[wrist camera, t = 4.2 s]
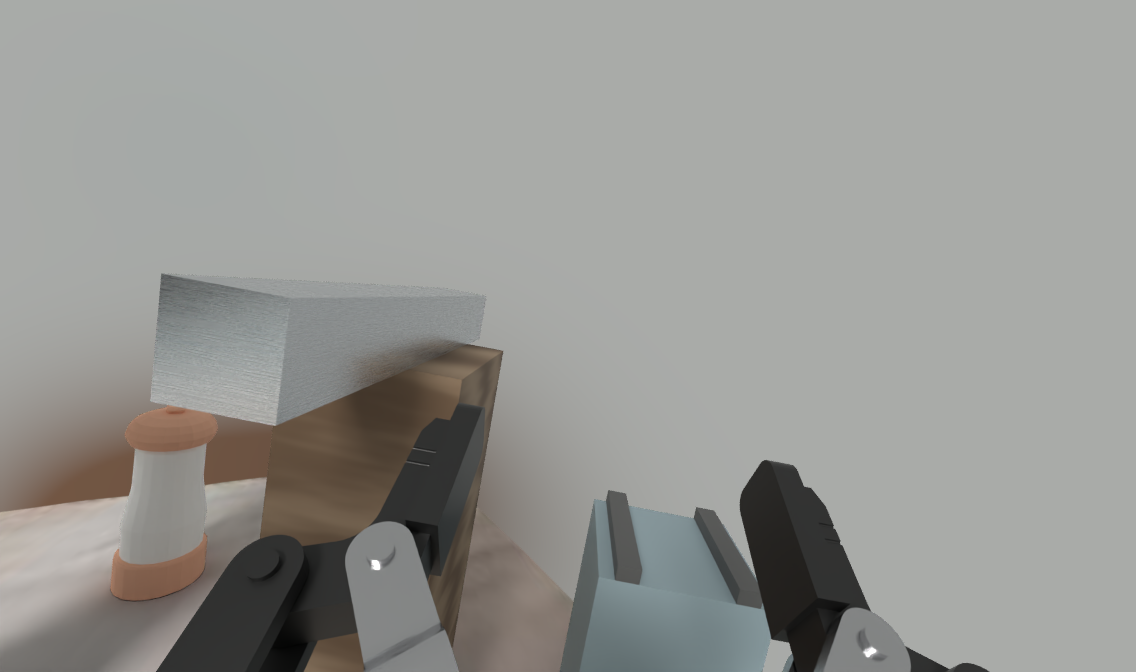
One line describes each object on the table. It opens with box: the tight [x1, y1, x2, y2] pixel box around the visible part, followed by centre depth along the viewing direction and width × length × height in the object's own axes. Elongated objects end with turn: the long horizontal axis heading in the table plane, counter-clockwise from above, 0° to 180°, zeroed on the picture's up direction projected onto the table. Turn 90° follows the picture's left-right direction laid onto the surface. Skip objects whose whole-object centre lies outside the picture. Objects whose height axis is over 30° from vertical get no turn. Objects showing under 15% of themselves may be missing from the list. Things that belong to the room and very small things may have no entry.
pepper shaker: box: [110, 405, 218, 601], centre depth 45 cm, size 7×7×19 cm
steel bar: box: [150, 274, 486, 426], centre depth 26 cm, size 26×4×4 cm, turn 178°
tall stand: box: [260, 344, 503, 672], centre depth 31 cm, size 14×11×32 cm
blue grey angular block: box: [560, 490, 771, 672], centre depth 32 cm, size 10×11×22 cm
